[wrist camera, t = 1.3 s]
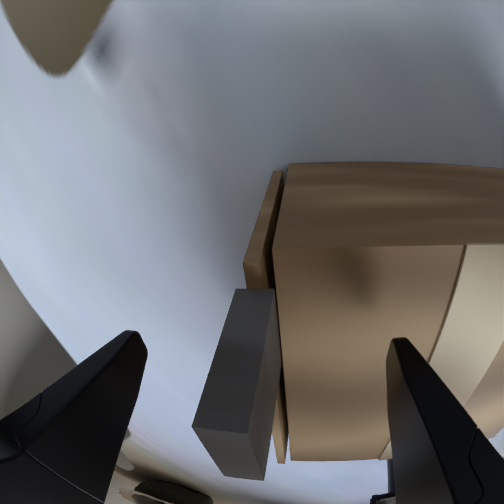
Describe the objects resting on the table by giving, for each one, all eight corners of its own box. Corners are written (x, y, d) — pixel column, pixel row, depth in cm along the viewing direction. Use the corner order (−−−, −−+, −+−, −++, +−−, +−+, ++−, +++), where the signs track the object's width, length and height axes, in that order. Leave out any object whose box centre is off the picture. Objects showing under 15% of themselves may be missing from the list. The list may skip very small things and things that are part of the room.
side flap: (300, 365, 21) (281, 526, 11) (285, 365, 21) (261, 524, 11) (288, 169, 14) (240, 411, 4) (267, 171, 14) (177, 403, 4)
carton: (468, 353, 19) (494, 438, 12) (300, 364, 21) (290, 462, 15) (525, 170, 11) (614, 242, 5) (288, 162, 14) (271, 249, 8)
